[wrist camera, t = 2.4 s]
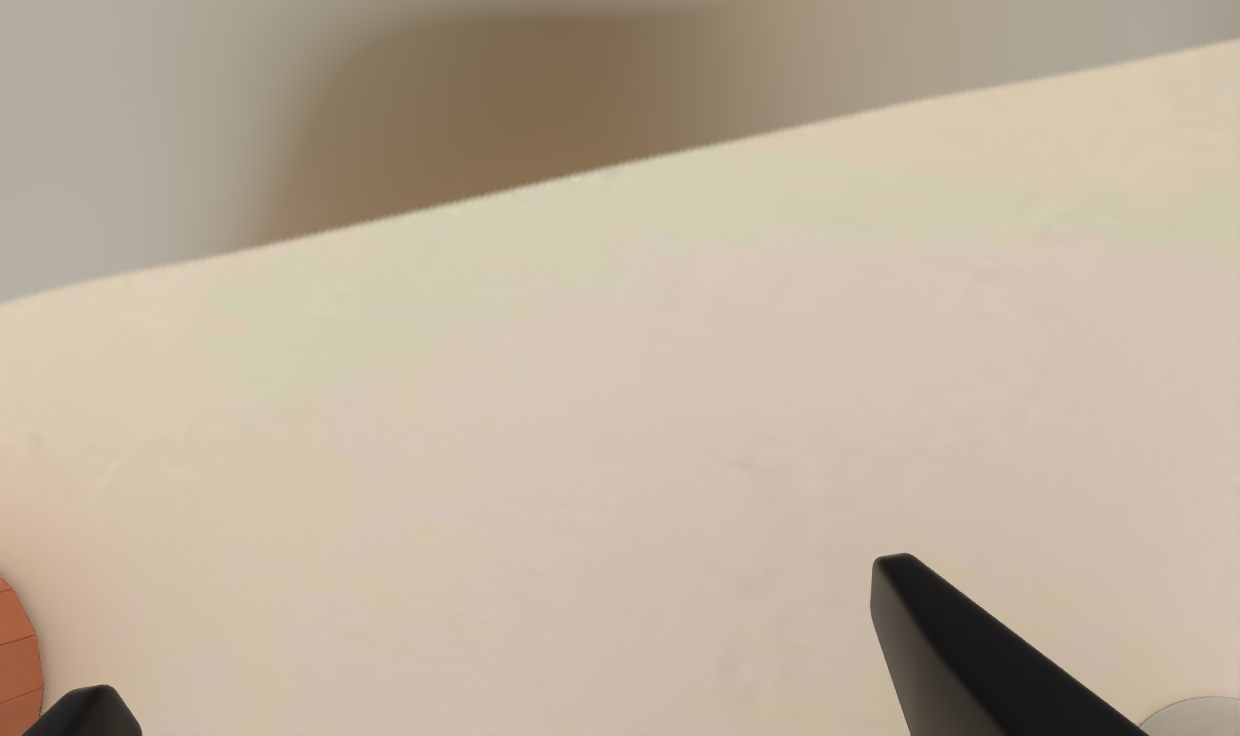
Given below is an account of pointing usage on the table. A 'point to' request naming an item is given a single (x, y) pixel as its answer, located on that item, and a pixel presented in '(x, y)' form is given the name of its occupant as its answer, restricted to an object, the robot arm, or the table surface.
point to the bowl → (18, 667)
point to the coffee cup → (1196, 718)
